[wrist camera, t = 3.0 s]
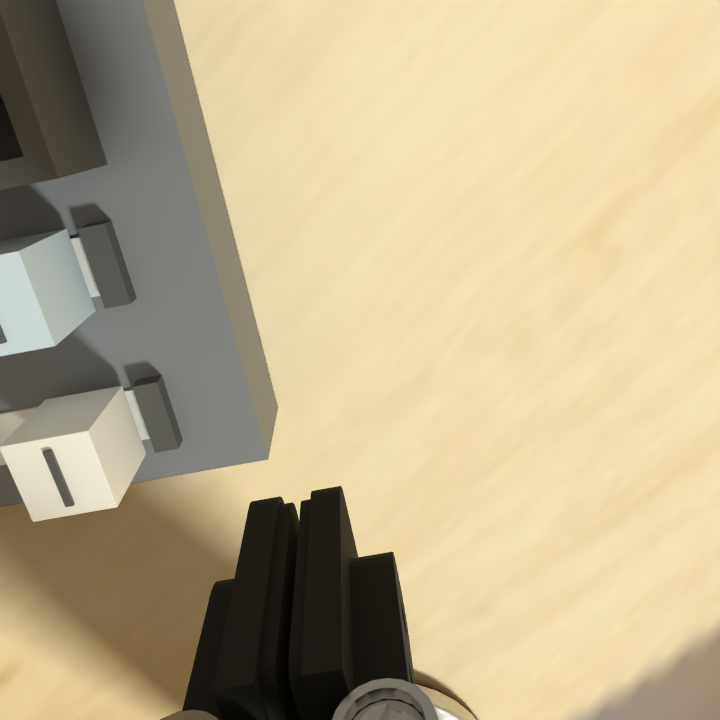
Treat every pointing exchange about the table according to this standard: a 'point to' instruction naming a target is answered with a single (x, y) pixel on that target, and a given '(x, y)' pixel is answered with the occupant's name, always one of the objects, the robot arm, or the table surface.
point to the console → (129, 233)
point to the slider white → (75, 454)
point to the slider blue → (40, 292)
